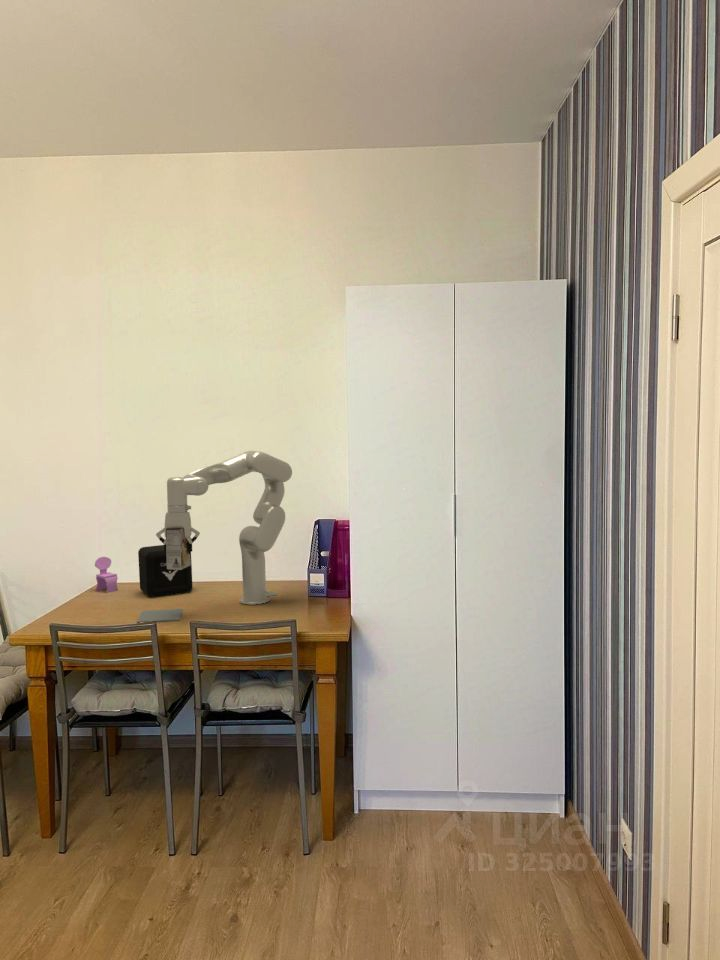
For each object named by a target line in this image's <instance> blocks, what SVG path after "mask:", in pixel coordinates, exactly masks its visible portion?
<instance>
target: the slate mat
mask: <svg viewBox="0 0 720 960" xmlns="http://www.w3.org/2000/svg"><path fill="white" fill-rule="evenodd" d="M183 610H184V609H183V608H170V609H169V608H168V609H166V608H165V609H151V610H148V609H147V610H141V612H140V614H139V616H138V619H137V621H136V624H141V623H140V622H150V621H156V622H155V623H163V622H180V621H181V618H182V614H183Z"/></svg>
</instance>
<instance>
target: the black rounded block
mask: <svg viewBox="0 0 720 960" xmlns="http://www.w3.org/2000/svg"><path fill="white" fill-rule="evenodd" d="M137 554H138V557H137V558H138V576H139V579H138V580H139V588H140V590H141V591H142V592H143V593H144V594H146V595H147V596H148V597H150V598H158V596H159V597H164V596H165V595H166V596H171V595H172V594H173V595H179V593H181V594H187V593H186V592H188V593H190V592H191V591H192V590H193V566H192V565H193V564H192V562H191V565H190V566H188V567H186V568H184V569H182V570H172V569H167V556H166V552H164V544H160V545H159V544H158V545H151V546H142V547H139V549H138V552H137ZM190 556H191V557H192V552H191V553H190Z"/></svg>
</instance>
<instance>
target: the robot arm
mask: <svg viewBox="0 0 720 960" xmlns="http://www.w3.org/2000/svg"><path fill="white" fill-rule="evenodd" d="M292 469H293V468H292V467H291V465H290V464H289V463H288V462H286V461H284V460H281V459H279V458H277V457H275V456H272V455H270V454H269V453H265V452H263V451H257V450H248V451H244V452H243V453H240V454H238V455H235V456H233V457H231V458H228V459H226V460H224V461H221V462H218V463H215V464H212V465H210V466H206V467H202V468H200V469H197V470H195V471H192V472H190V473H187V474H186V475H184V476H183V477H182V476H175V477H173V476H172V477H169V478H168V479H167V481H166V495H167V496H166V499H167V500H166V501H167V512H165V515H164V517H165V518H164V528H162V529H161V530H159V531H158V532H156V534H155V536H156V537H157V539H158V540H159V541H160V542H161V543H162V545H164V552H166V528H184V532H185V538H186V539H187V540H188V541H189V543H188V554H190V553H191V554H192V552H193V543H194V542H195V541H196V540H197V539H198V537H199V536H200V534H201V533H200V531H199V530H197V529H196V528H194V527H193V526H192V520H191V519H192V518H191V514H190V512H189V510H192V505H188V496H195V497H196V496H203V495H205V494H206V493H207V492H208V490H209V486H210V485H214V484H226V483H229V482H232V481H235V480H236V479H237V480H238V479H239V478H242V477H243V476H245V475H248V474H251V473H259V474H261V475H262V479H263V480H264V490H263V493H262V494H261V497H260V499H259V501H258V502H257V505H256V507H255V509H254V511H253V514H252V515H253V516H252V518H253V520H254V522H255V523H256V524H258V525H259V526H256V525H255V526H254V525H248V526H245V527H243V528H242V529H241V531H240V534H239V536H238V539H239V540H238V541H239V547H240V552H241V569H242V571H241V572H242V576H241V577H242V592H243V593H242V597H240V598H239V603H240V604H243V605H249V606H251V605H254V606H255V605H256V604H257V605H262V603H264V604H267V603H269V602H270V601H271V597H278V591H274V590H270V591H269V590H268V589H267V579H266V578H267V576H266V556H265V553H266V552H268V551H270V550H271V549H272V548H273V547H274V546H275V543H276V541H277V539H278V537H279V536H280V535H279V534H280V533H281V531H282V529H283V527H284V525H285V521H286V512H285V510H284V509H283V507H281V504H282V502H283V499H284V496H285V484H284V483H285V482H288V481H289V480H290V479H291V478H292V475H293V470H292ZM192 533H193V534H194V536H193V537H191V536H192ZM162 534H164V538H163V536H162ZM268 601H269V602H268ZM266 602H267V603H266Z"/></svg>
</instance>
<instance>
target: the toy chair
mask: <svg viewBox="0 0 720 960" xmlns="http://www.w3.org/2000/svg"><path fill="white" fill-rule="evenodd" d="M111 565H112V559H111V558H110V557H107V556H101V557H98V558H97V559H96V560H95V562H94V566H95V568H96V569H97V570H99V574H96V576H95V578H96V579H95V580H96V588H95V590H94V591H95V592H97V591H100V590H105V589H106V590H105V594H108V593H112V592H116V591H119V588H118V578H119V577H118V573H112V572H109V571H108V568H110V567H111ZM107 571H108V572H107Z"/></svg>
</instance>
